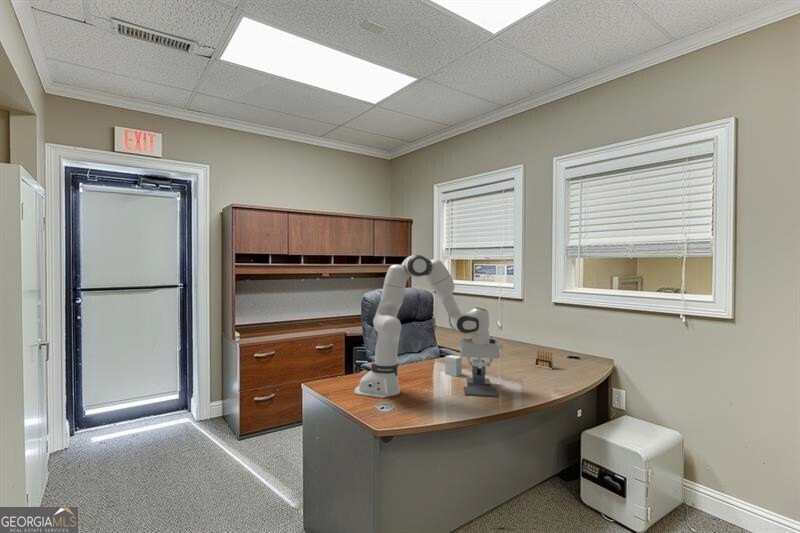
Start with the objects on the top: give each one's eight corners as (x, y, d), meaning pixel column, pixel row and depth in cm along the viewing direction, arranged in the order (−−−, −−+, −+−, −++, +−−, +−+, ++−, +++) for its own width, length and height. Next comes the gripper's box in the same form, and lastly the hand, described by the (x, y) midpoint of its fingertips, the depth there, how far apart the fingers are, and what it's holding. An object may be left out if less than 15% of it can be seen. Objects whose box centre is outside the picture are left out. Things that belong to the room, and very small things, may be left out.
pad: (464, 395, 197) (464, 393, 197) (463, 388, 209) (463, 386, 209) (498, 397, 195) (498, 395, 195) (495, 389, 207) (495, 388, 207)
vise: (467, 386, 212) (468, 346, 212) (466, 381, 222) (467, 342, 222) (490, 387, 210) (491, 347, 210) (488, 382, 220) (489, 343, 220)
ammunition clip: (552, 369, 251) (553, 350, 250) (551, 369, 249) (551, 350, 249) (536, 365, 258) (537, 347, 258) (535, 366, 257) (535, 347, 257)
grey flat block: (471, 367, 207) (471, 362, 207) (469, 361, 221) (469, 356, 221) (489, 368, 206) (489, 362, 206) (486, 362, 220) (486, 356, 220)
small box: (461, 375, 234) (462, 357, 234) (456, 377, 230) (456, 358, 230) (450, 372, 239) (450, 354, 239) (444, 374, 235) (445, 356, 235)
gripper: (460, 339, 207) (459, 366, 207) (500, 340, 205) (500, 368, 205) (459, 337, 213) (459, 363, 213) (499, 338, 211) (498, 365, 211)
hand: (479, 365), depth 209 cm, fingers open, 8 cm apart
